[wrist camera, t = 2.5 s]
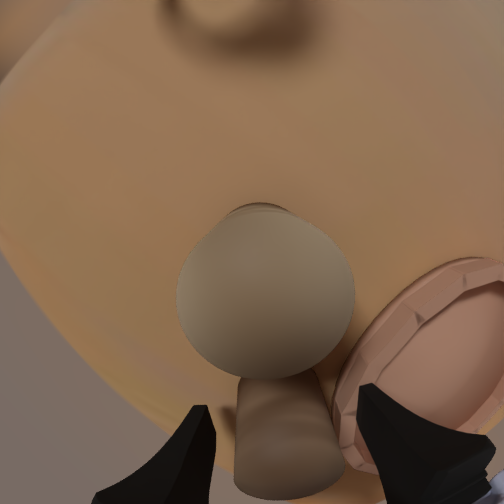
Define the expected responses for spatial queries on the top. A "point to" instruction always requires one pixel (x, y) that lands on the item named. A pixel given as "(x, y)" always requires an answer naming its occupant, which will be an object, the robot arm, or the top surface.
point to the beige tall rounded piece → (265, 294)
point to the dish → (430, 354)
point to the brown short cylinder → (284, 438)
